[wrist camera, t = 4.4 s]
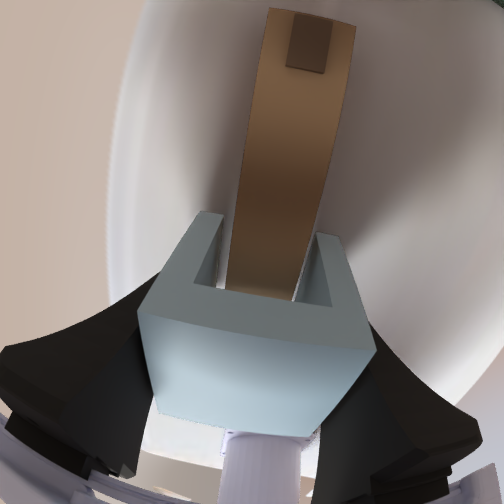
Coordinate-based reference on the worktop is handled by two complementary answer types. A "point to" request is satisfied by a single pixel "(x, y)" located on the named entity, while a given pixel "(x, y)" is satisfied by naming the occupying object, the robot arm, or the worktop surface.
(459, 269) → the worktop surface
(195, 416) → the light blue open box
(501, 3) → the coffee jar
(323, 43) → the brown board
